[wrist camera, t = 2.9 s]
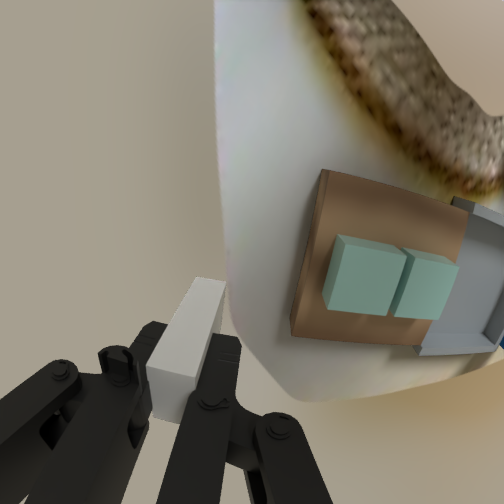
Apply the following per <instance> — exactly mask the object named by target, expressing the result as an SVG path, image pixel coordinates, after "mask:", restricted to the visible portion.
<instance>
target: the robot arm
mask: <svg viewBox="0 0 504 504" xmlns="http://www.w3.org/2000/svg"><path fill="white" fill-rule="evenodd" d="M225 289H226V281H220V280H214V279H208V278H203V277H197V276H196V278H195V279H194V281H193V283H192V285H191V286H190V288H189V290H188V292H187V293H186V295H185V296H184V298H183V300H182V302H181V303H180V305H179V307H178V308H177V310H176V312H175V314H174V315H173V317H172V319H171V321H170V322H169V324H164V323H160V322H155V321H152V322H150V323H149V324H147V325H145V326H144V327H143V328H142V330H141V331H140V333H139V334H138V336H137V337H136V339H135V340H134V342H133V343H132V344H131V346H130V347H129V348H127V347H125V346H119V345H116V346H109V347H106V348H103V349H102V350H101V351H100V352H98V357H99V361H100V365H101V369H102V374H90V373H81V372H78V369H77V366H76V365H75V364H74V363H72V362H70V361H68V360H63V359H60V360H55V361H52V362H51V363H49V364H47V365H46V366H44V367H43V368H42V369H40V370H39V371H38V372H36V373H35V374H34V375H32V376H31V377H30V378H28V379H27V380H25V381H24V382H23V383H22V384H20V385H19V386H17V387H16V388H15V389H14V390H12V391H11V392H10V393H8V394H7V395H6V396H4V397H3V398H2V399H1V400H0V504H19V503H20V502H21V501H22V500H23V499H24V498H25V497H26V496H27V495H28V494H29V495H28V497H27V499H26V501H25V503H24V504H121V502H122V499H123V496H124V493H125V491H126V488H127V485H128V482H129V479H130V477H131V474H132V471H133V469H134V466H135V463H136V461H137V458H138V455H139V453H140V450H141V447H142V445H143V442H144V440H145V437H146V435H147V432H148V430H149V421H148V418H149V416H150V413H151V411H152V412H153V417H154V418H158V419H161V420H165V421H169V422H173V423H177V424H180V426H179V429H178V432H177V436H176V439H175V442H174V446H173V449H172V452H171V455H170V458H169V462H168V465H167V468H166V472H165V475H164V478H163V482H162V485H161V489H160V492H159V495H158V499H157V502H156V504H219V502H220V496H221V489H222V482H223V476H224V469H225V462H227V463H229V464H231V465H234V466H236V467H239V468H241V469H243V471H244V475H245V480H246V484H247V489H248V493H249V497H250V502H251V504H333V502H332V500H331V498H330V495H329V493H328V490H327V488H326V486H325V483H324V481H323V478H322V476H321V473H320V471H319V469H318V466H317V464H316V461H315V459H314V457H313V454H312V452H311V449H310V446H309V444H308V442H307V439H306V437H305V434H304V432H303V429H302V427H301V425H300V424H299V422H298V421H297V420H296V419H295V418H293V417H292V416H290V415H288V414H285V413H279V412H272V413H269V414H265V415H264V416H259V415H257V414H254V413H252V412H250V411H248V410H246V409H245V408H243V407H242V406H241V405H240V404H239V402H238V401H237V399H236V396H235V390H236V383H237V375H238V368H239V361H240V354H241V347H242V346H241V343H240V341H239V339H238V337H235V336H229V335H223V334H219V333H220V329H221V322H222V313H223V305H224V297H225Z"/></svg>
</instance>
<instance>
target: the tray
mask: <svg viewBox="0 0 504 504" xmlns="http://www.w3.org/2000/svg"><path fill="white" fill-rule="evenodd" d="M452 206H454V207H457V208H460V209H462V210H465V211H468V212H470V214H469V218H468V222H467V226H466V230H465V233H464V237H463V241H462V244H461V247H460V251H459V254H458V257H457V260H456V263H455V264H456V265H458V266H459V270H458V273H457V276H456V279H455V281H454V284H453V287H452V289H451V292H450V294H449V297H448V299H447V302H446V304H445V306H444V309H443V311H442V313H441V315H440V318H439V320H433V321H432V323H431V325H430V327H429V330H428V332H427V334H426V336H425V338H424V340H423V342H422V344H421V345H412V346H413V348H414V349H415V351H416V352H417V354H418V356H426V355H455V354H471V353H483V352H494V351H496V349H497V347H498V345H499V343H500V342H501V340H502V338H503V336H504V216H503V215H501V214H499V213H497V212H495V211H493V210H490V209H488V208H486V207H484V206H482V205H479V204H477V203H475V202H472V201H468V200H465V199H462V198H459V197H455V196H454V199H453V204H452Z"/></svg>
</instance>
